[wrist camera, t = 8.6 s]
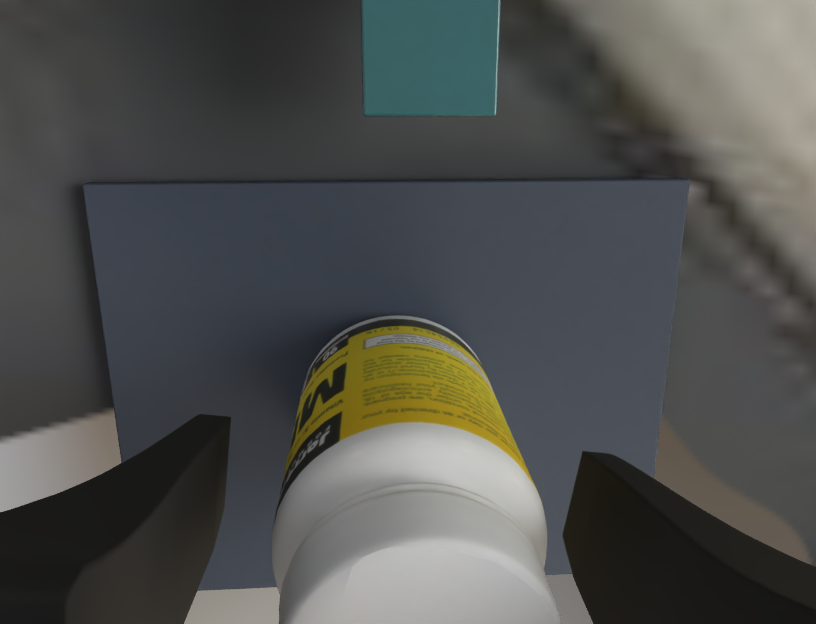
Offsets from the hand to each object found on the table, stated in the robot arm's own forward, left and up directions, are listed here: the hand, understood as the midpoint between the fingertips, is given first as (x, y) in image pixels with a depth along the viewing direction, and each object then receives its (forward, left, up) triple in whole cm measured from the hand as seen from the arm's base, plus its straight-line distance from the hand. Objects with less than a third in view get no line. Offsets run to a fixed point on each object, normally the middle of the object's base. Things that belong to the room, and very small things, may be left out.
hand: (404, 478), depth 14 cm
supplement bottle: (0, 0, -4) cm, 4 cm away
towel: (0, 0, -4) cm, 4 cm away
